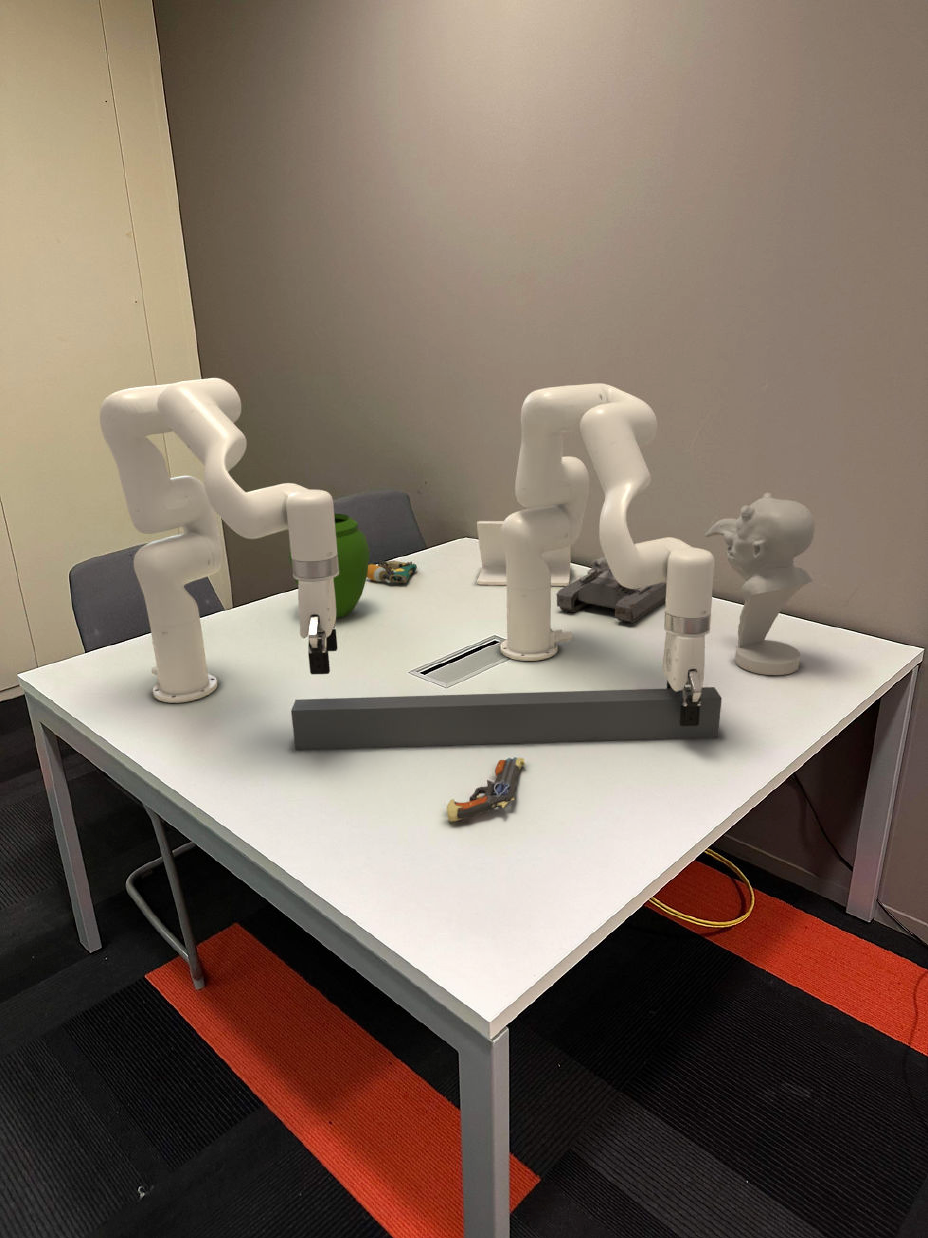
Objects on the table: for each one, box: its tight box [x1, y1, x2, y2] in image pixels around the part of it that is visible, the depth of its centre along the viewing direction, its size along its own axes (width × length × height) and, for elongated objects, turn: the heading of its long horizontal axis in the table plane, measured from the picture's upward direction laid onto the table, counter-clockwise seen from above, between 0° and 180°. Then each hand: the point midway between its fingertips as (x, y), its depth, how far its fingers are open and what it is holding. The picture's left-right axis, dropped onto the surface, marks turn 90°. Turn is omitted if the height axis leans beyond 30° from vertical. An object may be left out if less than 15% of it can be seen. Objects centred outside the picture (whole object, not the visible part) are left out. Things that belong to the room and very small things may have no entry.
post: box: [290, 686, 723, 751], centre depth 150 cm, size 74×4×8 cm, turn 91°
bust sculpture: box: [704, 492, 816, 676], centre depth 176 cm, size 16×24×35 cm, turn 28°
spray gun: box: [366, 560, 418, 584], centre depth 241 cm, size 4×17×15 cm
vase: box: [288, 513, 370, 619], centre depth 209 cm, size 20×20×24 cm
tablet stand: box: [476, 520, 572, 587], centre depth 236 cm, size 18×25×17 cm
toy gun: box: [446, 756, 526, 822], centre depth 134 cm, size 3×19×10 cm
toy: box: [556, 556, 667, 624], centre depth 212 cm, size 25×20×15 cm
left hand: (324, 661), depth 146 cm, fingers open, 9 cm apart
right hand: (681, 712), depth 150 cm, fingers open, 9 cm apart
